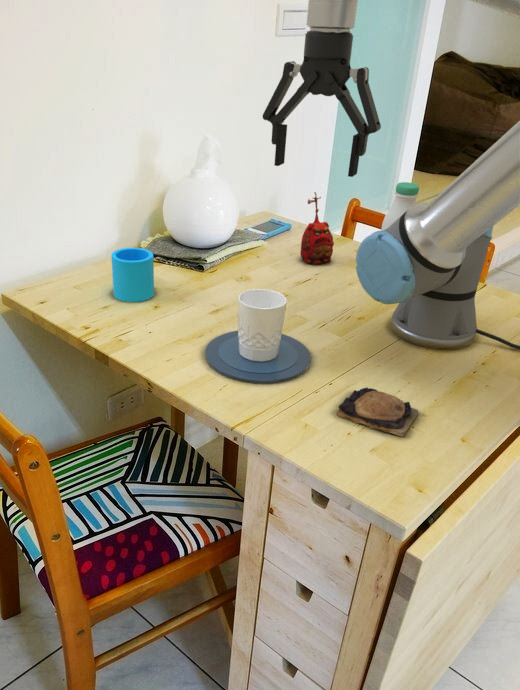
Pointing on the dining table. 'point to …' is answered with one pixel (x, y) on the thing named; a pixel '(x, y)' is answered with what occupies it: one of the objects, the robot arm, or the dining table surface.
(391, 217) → the milk bottle
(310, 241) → the red clay folk toy
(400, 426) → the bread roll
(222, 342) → the plate
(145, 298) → the mug
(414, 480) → the dining table surface
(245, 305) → the white cup
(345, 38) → the robot arm
